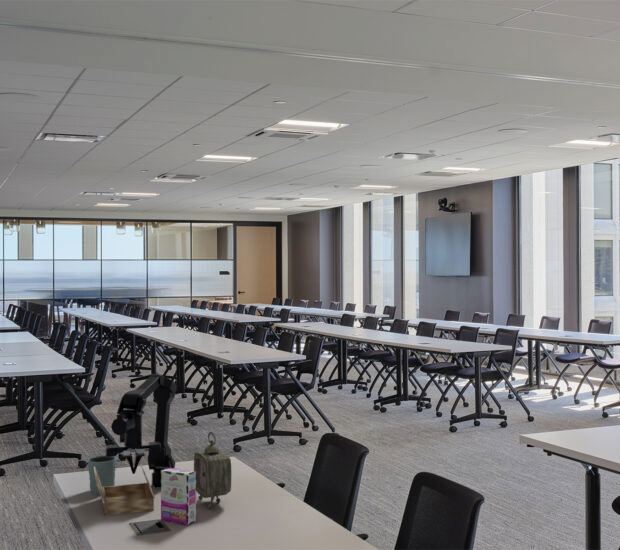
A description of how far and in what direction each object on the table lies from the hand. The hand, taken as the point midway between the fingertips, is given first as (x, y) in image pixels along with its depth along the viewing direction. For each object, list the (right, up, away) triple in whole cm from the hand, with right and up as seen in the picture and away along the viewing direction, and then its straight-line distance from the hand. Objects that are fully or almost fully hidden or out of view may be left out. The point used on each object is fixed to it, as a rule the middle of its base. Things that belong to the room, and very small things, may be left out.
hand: (133, 473), depth 258 cm
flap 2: (+4, -3, +1) cm, 5 cm away
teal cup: (-15, -11, +15) cm, 24 cm away
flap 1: (-11, -3, -4) cm, 12 cm away
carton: (-2, -10, -1) cm, 11 cm away
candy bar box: (+19, -11, -18) cm, 28 cm away
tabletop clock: (+28, -11, 0) cm, 30 cm away
